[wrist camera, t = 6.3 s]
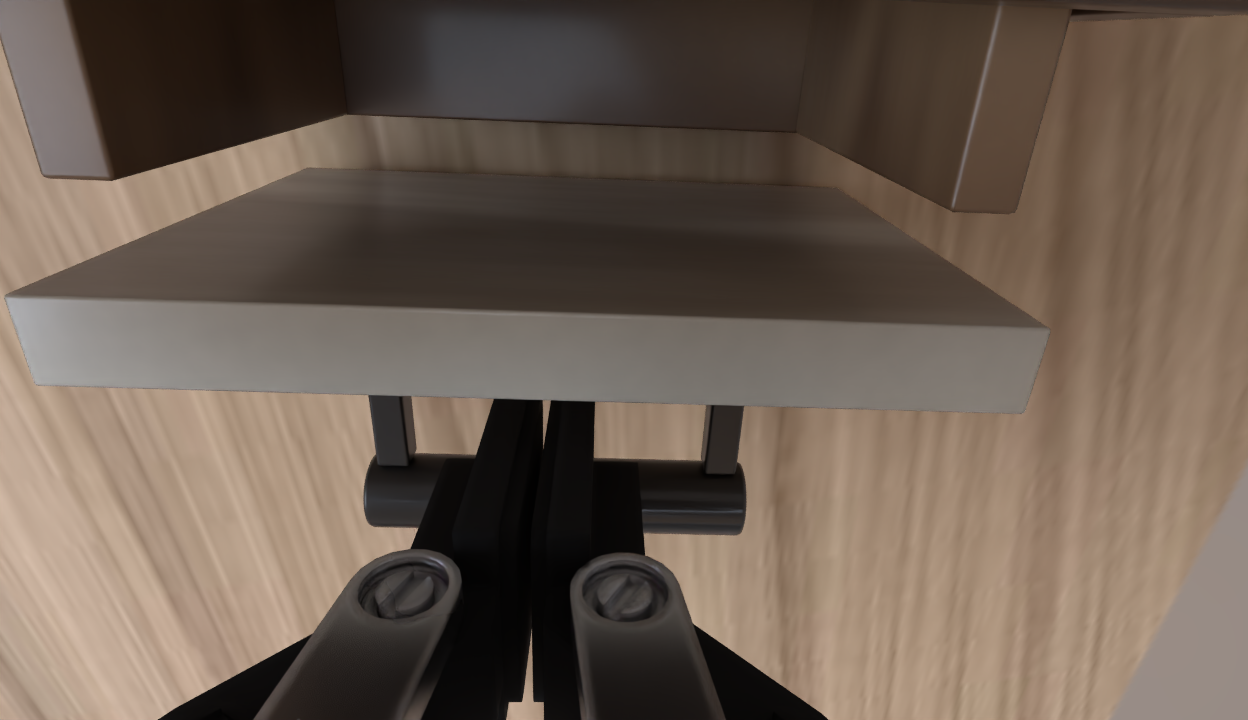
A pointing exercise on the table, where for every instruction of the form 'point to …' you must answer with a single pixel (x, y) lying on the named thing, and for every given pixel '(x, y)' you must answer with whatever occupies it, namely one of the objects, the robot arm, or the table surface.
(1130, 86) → the table surface
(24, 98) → the drawer
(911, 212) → the table surface
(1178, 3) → the cabinet
